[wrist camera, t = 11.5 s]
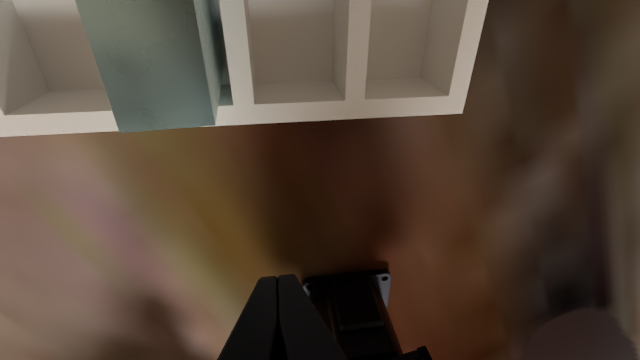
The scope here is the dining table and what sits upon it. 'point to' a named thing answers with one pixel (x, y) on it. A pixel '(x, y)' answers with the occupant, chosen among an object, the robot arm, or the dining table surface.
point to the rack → (256, 62)
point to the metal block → (156, 60)
